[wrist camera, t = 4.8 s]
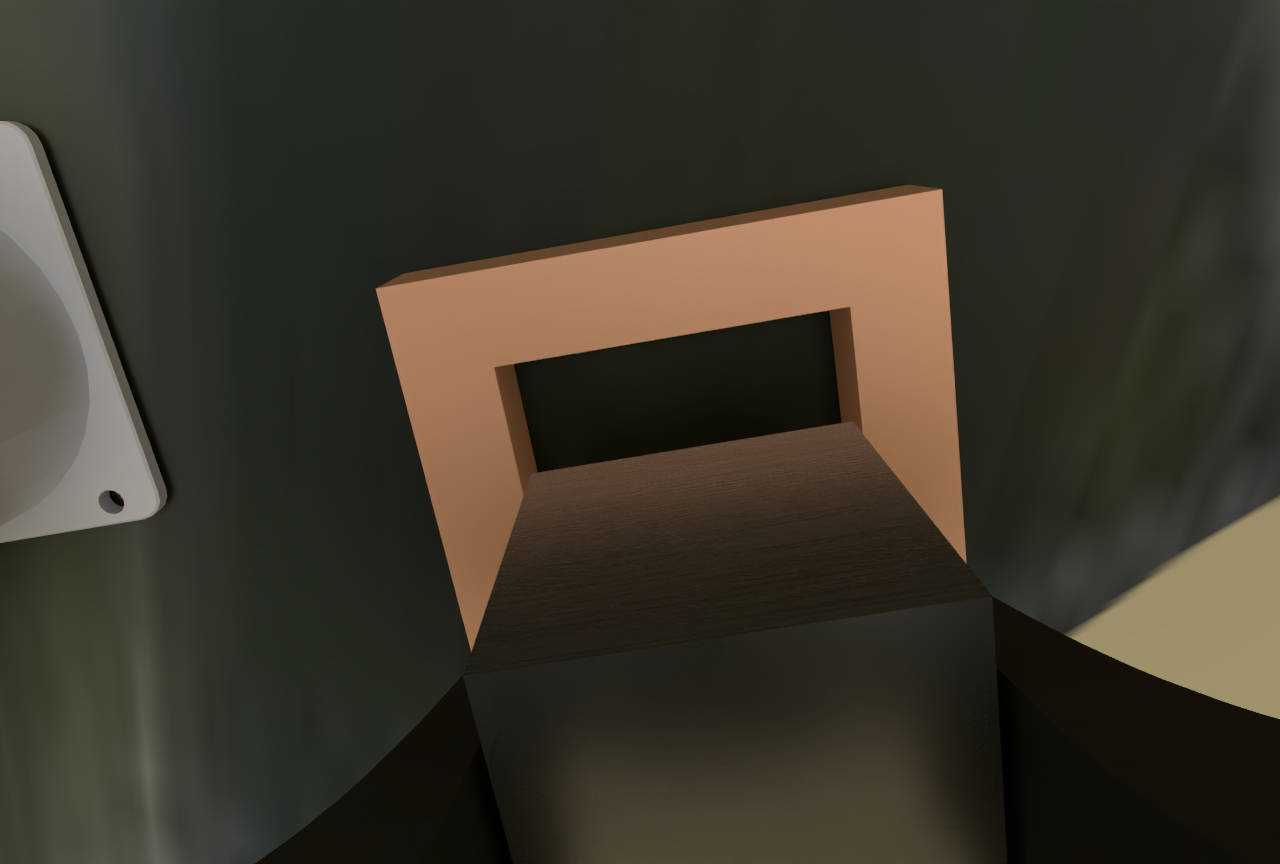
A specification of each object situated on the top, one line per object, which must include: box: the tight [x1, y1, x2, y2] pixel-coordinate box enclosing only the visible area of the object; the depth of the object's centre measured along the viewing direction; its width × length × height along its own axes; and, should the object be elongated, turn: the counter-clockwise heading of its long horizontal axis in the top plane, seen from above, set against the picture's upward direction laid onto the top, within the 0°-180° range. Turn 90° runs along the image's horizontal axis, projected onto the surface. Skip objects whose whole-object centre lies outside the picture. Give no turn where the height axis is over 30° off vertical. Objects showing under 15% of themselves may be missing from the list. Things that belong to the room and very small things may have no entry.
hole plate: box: [376, 185, 966, 651], centre depth 18 cm, size 10×10×2 cm
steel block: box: [463, 421, 1008, 864], centre depth 10 cm, size 4×4×5 cm
